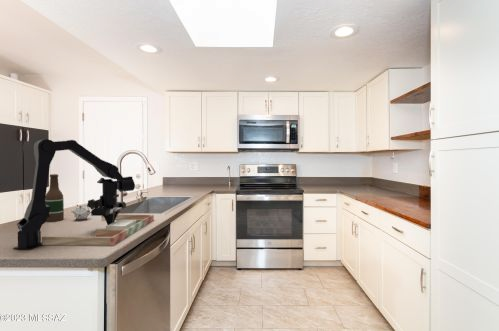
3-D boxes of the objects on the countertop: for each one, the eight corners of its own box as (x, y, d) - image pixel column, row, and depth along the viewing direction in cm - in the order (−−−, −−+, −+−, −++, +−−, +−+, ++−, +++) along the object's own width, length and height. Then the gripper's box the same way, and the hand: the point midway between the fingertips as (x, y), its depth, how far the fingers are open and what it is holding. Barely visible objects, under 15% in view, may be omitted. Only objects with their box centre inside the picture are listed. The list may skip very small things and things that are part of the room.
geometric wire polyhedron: (82, 227, 139) (79, 214, 133) (69, 220, 140) (65, 207, 134) (96, 216, 146) (93, 203, 140) (84, 210, 147) (80, 197, 141)
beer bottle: (47, 219, 140) (46, 174, 139) (65, 218, 144) (64, 173, 143) (43, 222, 133) (42, 175, 132) (62, 221, 136) (61, 174, 136)
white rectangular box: (124, 235, 114) (124, 226, 114) (106, 235, 114) (106, 225, 114) (136, 228, 125) (136, 220, 125) (119, 228, 125) (119, 219, 125)
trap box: (113, 245, 99) (112, 237, 99) (41, 244, 100) (41, 237, 100) (153, 220, 139) (153, 214, 139) (102, 219, 140) (102, 214, 140)
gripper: (103, 190, 129) (104, 222, 129) (78, 195, 110) (78, 233, 110) (126, 190, 128) (126, 222, 129) (104, 195, 110) (105, 233, 110)
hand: (110, 227), depth 120 cm, fingers closed
